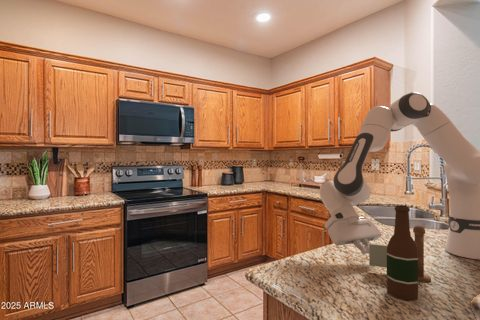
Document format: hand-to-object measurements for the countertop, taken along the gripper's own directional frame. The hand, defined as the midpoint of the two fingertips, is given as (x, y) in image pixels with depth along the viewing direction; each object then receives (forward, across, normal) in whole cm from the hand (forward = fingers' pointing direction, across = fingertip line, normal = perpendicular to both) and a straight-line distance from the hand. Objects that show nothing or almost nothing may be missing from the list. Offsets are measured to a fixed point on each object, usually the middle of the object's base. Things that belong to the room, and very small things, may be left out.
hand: (367, 252), depth 93 cm
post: (+12, -8, +5) cm, 15 cm away
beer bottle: (+16, +7, +9) cm, 20 cm away
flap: (+7, -2, +3) cm, 8 cm away
